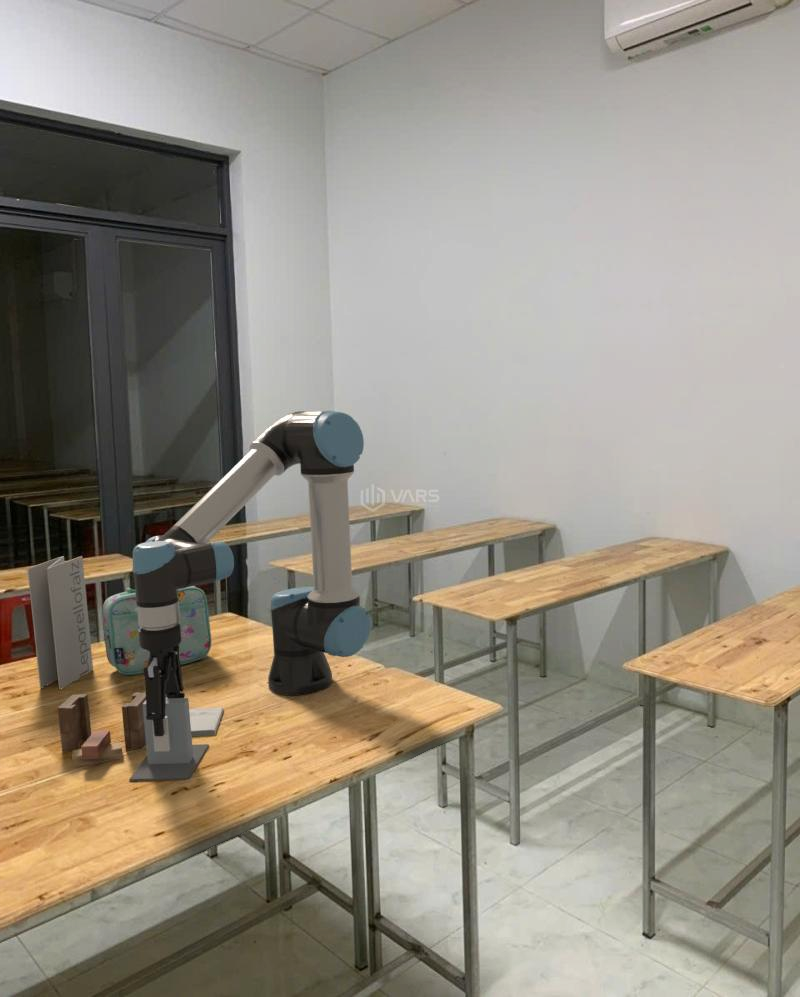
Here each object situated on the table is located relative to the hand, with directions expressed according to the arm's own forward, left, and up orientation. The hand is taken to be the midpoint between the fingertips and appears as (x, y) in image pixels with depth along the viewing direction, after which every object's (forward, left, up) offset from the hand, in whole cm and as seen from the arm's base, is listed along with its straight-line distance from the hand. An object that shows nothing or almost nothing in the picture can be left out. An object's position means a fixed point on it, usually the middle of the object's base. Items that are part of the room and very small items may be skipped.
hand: (169, 740), depth 156 cm
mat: (0, 0, -4) cm, 4 cm away
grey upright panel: (0, 0, -4) cm, 4 cm away
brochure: (+41, -48, -5) cm, 63 cm away
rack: (+16, -10, -4) cm, 19 cm away
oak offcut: (+15, -2, -5) cm, 16 cm away
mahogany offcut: (+15, -2, -2) cm, 15 cm away
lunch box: (+20, -56, -5) cm, 60 cm away
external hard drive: (-1, -18, -5) cm, 19 cm away
